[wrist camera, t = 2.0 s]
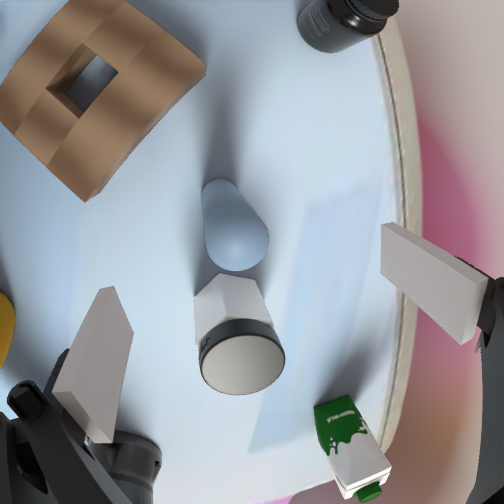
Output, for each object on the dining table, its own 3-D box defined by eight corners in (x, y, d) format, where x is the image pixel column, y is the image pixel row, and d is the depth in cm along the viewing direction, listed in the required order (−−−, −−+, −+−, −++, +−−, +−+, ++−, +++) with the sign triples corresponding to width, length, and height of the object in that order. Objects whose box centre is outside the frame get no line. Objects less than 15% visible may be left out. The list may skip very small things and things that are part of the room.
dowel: (219, 221, 34) (238, 282, 20) (193, 197, 32) (192, 244, 19) (245, 195, 33) (281, 239, 20) (218, 170, 32) (237, 197, 18)
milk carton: (311, 430, 52) (345, 510, 34) (308, 405, 49) (348, 496, 30) (351, 415, 53) (392, 490, 35) (353, 389, 49) (402, 472, 31)
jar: (186, 281, 36) (185, 344, 25) (251, 263, 36) (276, 318, 25) (208, 338, 39) (216, 406, 28) (267, 321, 40) (292, 384, 29)
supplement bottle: (347, 61, 29) (408, 39, 18) (292, 45, 28) (339, 9, 17) (351, 15, 27) (407, -17, 16) (299, -1, 25) (342, -47, 14)
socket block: (99, 192, 30) (84, 202, 26) (10, 108, 24) (-13, 107, 19) (205, 75, 28) (206, 64, 23) (104, -4, 21) (92, -21, 17)
